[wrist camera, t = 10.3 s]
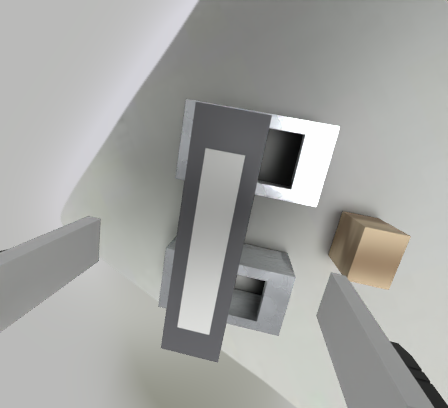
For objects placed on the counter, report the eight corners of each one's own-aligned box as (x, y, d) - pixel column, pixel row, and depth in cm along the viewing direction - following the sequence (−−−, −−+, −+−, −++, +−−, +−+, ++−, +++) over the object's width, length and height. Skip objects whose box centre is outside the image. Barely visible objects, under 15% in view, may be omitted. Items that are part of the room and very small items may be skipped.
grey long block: (216, 118, 22) (194, 100, 14) (264, 127, 21) (272, 114, 13) (188, 287, 26) (159, 350, 18) (228, 296, 26) (217, 365, 18)
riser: (342, 211, 24) (365, 227, 19) (378, 218, 24) (410, 236, 19) (328, 254, 25) (346, 280, 21) (362, 262, 25) (388, 289, 20)
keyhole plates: (199, 108, 23) (186, 98, 19) (321, 130, 23) (340, 126, 18) (174, 279, 28) (158, 306, 23) (273, 302, 27) (278, 335, 23)
